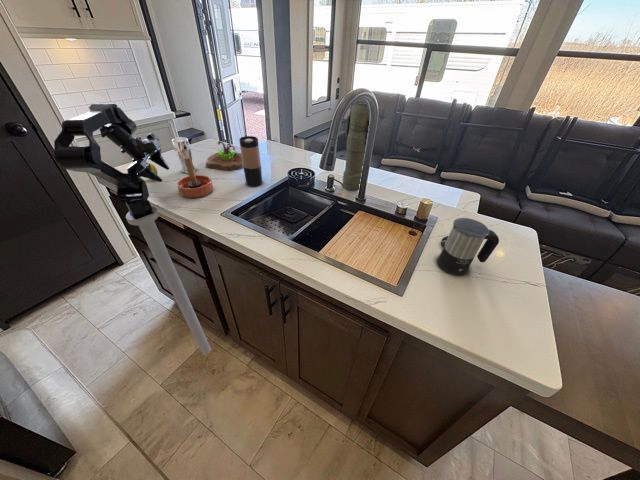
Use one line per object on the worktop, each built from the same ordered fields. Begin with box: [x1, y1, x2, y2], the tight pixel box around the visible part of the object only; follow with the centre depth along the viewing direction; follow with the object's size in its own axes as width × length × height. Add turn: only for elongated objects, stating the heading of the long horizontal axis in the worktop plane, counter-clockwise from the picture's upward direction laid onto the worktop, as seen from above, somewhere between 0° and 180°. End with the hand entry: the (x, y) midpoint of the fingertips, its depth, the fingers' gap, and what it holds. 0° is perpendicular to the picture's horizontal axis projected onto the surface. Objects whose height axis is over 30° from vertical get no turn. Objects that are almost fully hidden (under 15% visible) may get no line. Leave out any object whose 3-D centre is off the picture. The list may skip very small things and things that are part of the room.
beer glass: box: [171, 136, 197, 174], centre depth 120 cm, size 7×7×15 cm
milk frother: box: [436, 217, 500, 276], centre depth 78 cm, size 14×16×15 cm
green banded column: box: [342, 101, 370, 192], centre depth 108 cm, size 9×12×35 cm
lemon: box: [147, 162, 158, 175], centre depth 113 cm, size 6×6×8 cm
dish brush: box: [184, 157, 202, 189], centre depth 104 cm, size 5×5×14 cm
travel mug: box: [238, 135, 263, 188], centre depth 111 cm, size 8×8×20 cm
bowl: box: [176, 174, 214, 199], centre depth 108 cm, size 13×13×4 cm
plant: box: [205, 140, 244, 171], centre depth 131 cm, size 20×20×11 cm
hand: (165, 175), depth 99 cm, fingers open, 9 cm apart
